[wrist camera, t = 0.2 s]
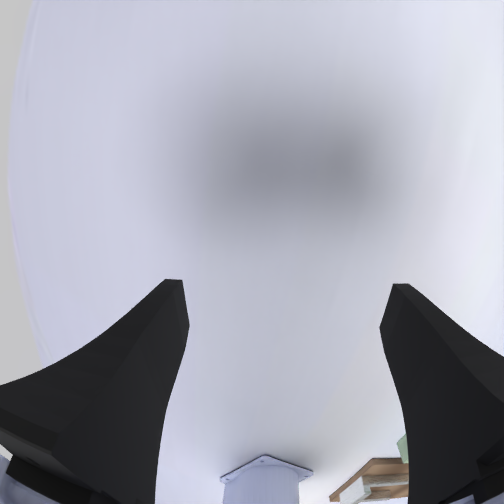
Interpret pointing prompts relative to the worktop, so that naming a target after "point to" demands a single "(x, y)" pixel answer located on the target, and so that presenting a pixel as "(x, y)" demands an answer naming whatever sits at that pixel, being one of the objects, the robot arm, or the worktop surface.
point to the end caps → (362, 490)
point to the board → (379, 468)
